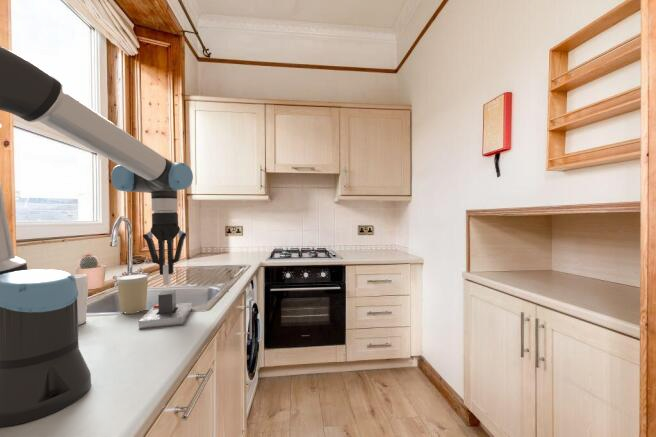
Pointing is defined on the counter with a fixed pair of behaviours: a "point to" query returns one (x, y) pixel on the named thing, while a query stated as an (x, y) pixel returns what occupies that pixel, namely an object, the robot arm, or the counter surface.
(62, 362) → the robot arm
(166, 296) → the plug
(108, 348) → the counter surface
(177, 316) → the socket plate
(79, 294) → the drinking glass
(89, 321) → the counter surface
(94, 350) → the counter surface
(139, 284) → the coffee cup
